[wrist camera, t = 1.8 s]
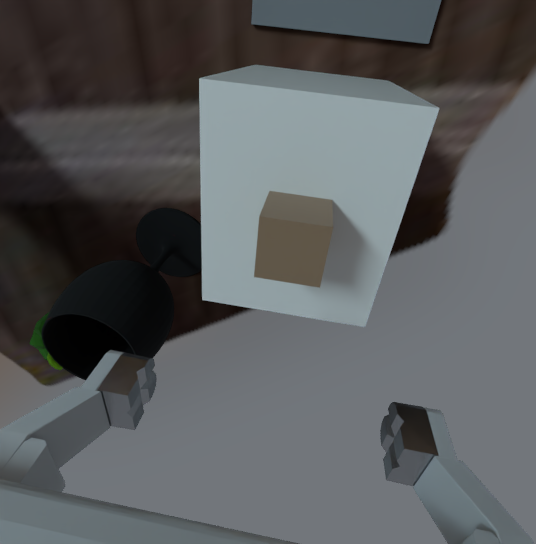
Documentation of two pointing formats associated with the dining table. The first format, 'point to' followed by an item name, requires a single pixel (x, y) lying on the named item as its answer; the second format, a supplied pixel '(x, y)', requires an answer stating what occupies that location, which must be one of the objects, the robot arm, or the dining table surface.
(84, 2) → the dining table surface
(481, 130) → the dining table surface
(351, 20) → the mat
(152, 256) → the wine glass
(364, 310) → the cover
